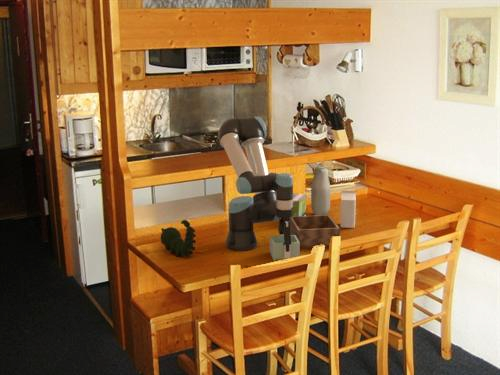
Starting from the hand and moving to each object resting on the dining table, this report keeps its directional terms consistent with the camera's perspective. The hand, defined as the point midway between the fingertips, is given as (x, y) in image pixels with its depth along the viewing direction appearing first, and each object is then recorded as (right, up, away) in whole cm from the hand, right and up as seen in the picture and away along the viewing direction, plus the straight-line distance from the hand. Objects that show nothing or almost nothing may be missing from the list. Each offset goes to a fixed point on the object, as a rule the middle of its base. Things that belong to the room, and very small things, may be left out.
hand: (284, 252), depth 302 cm
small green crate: (0, -1, +1) cm, 2 cm away
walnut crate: (+15, +4, +22) cm, 27 cm away
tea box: (+7, +11, +48) cm, 50 cm away
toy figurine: (-50, -1, +6) cm, 50 cm away
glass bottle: (+23, +14, +61) cm, 66 cm away
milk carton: (+35, +10, +43) cm, 56 cm away
